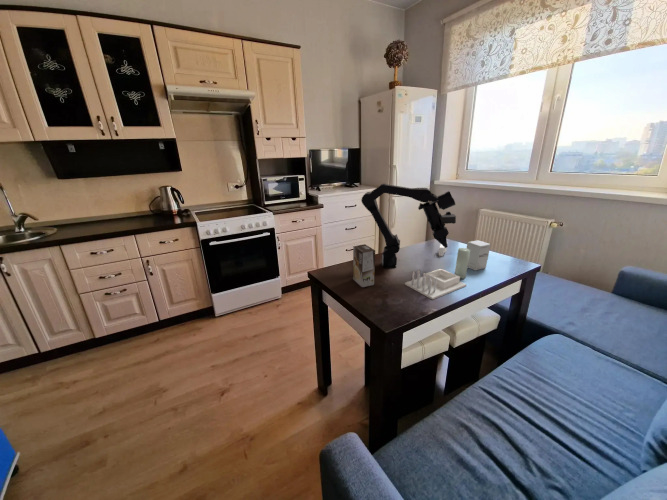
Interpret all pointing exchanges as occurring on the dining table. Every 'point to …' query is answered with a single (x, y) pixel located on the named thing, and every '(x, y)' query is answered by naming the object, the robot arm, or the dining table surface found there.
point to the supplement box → (478, 254)
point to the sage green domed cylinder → (462, 262)
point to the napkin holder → (442, 250)
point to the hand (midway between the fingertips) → (445, 244)
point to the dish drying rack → (435, 283)
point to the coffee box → (363, 265)
